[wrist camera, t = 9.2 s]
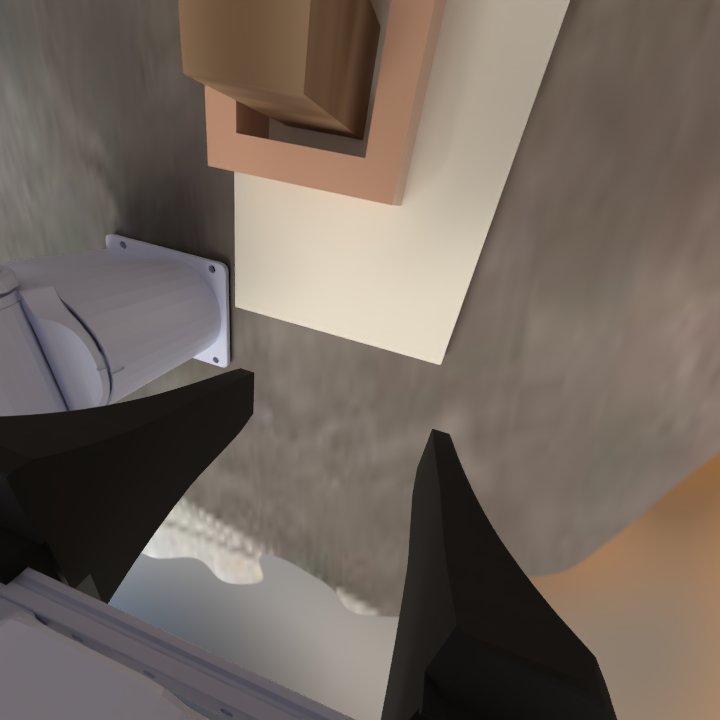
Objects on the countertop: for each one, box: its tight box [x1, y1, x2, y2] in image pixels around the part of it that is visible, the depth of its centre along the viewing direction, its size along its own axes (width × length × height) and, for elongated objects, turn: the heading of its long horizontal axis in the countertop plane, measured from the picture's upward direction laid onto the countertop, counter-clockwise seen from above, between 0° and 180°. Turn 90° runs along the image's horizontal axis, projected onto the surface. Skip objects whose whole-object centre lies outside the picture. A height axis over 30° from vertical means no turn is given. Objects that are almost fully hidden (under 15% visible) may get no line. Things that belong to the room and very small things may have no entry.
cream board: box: [234, 0, 570, 365], centre depth 16 cm, size 14×17×1 cm
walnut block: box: [178, 0, 381, 140], centre depth 11 cm, size 4×4×7 cm
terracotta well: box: [205, 0, 447, 206], centre depth 13 cm, size 9×9×3 cm
